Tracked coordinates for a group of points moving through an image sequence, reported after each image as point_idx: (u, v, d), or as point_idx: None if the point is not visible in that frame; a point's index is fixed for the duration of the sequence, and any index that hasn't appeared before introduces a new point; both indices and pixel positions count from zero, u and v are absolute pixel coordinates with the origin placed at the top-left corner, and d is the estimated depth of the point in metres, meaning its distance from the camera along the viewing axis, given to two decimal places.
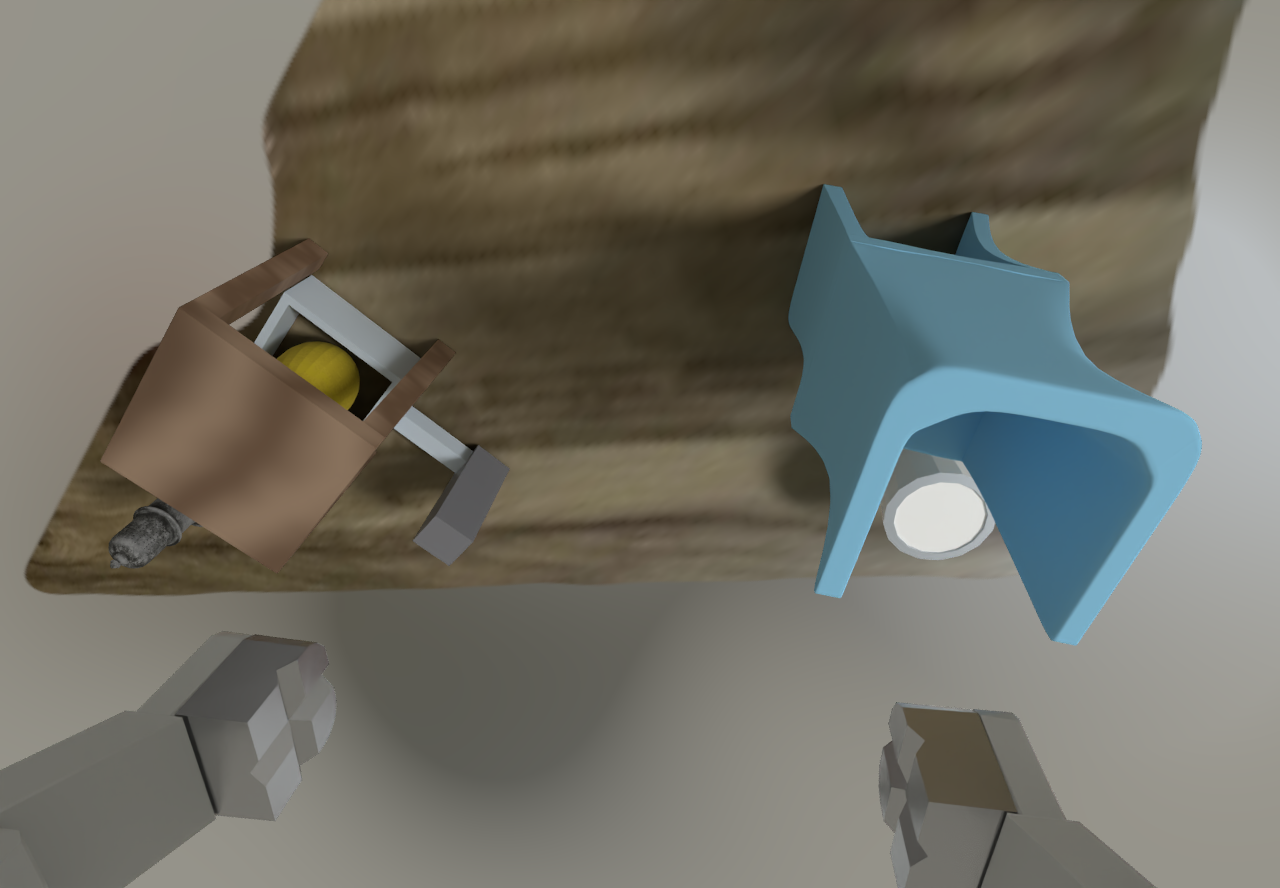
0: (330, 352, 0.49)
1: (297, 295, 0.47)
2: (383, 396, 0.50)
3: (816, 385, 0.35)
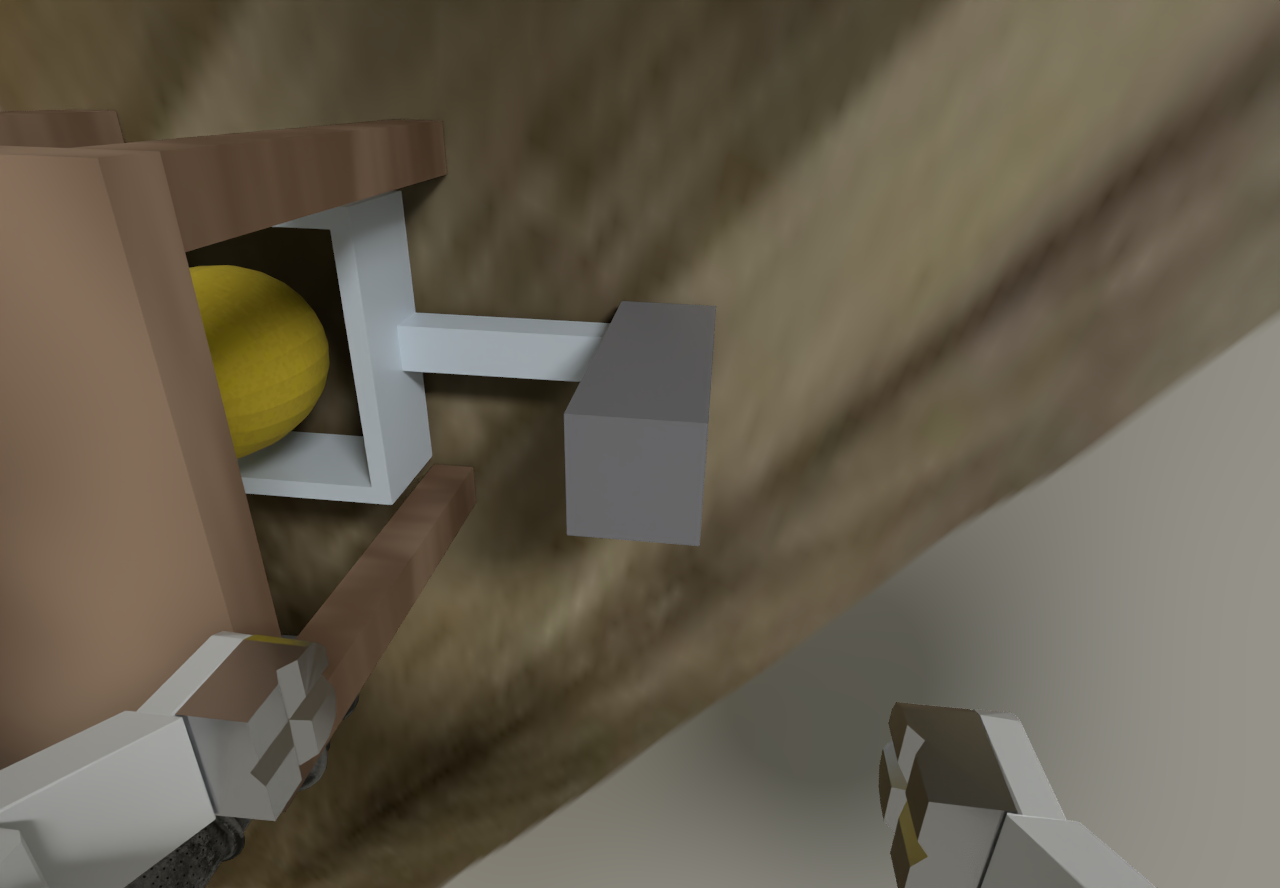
0: (196, 267, 0.21)
1: None
2: (341, 282, 0.20)
3: None
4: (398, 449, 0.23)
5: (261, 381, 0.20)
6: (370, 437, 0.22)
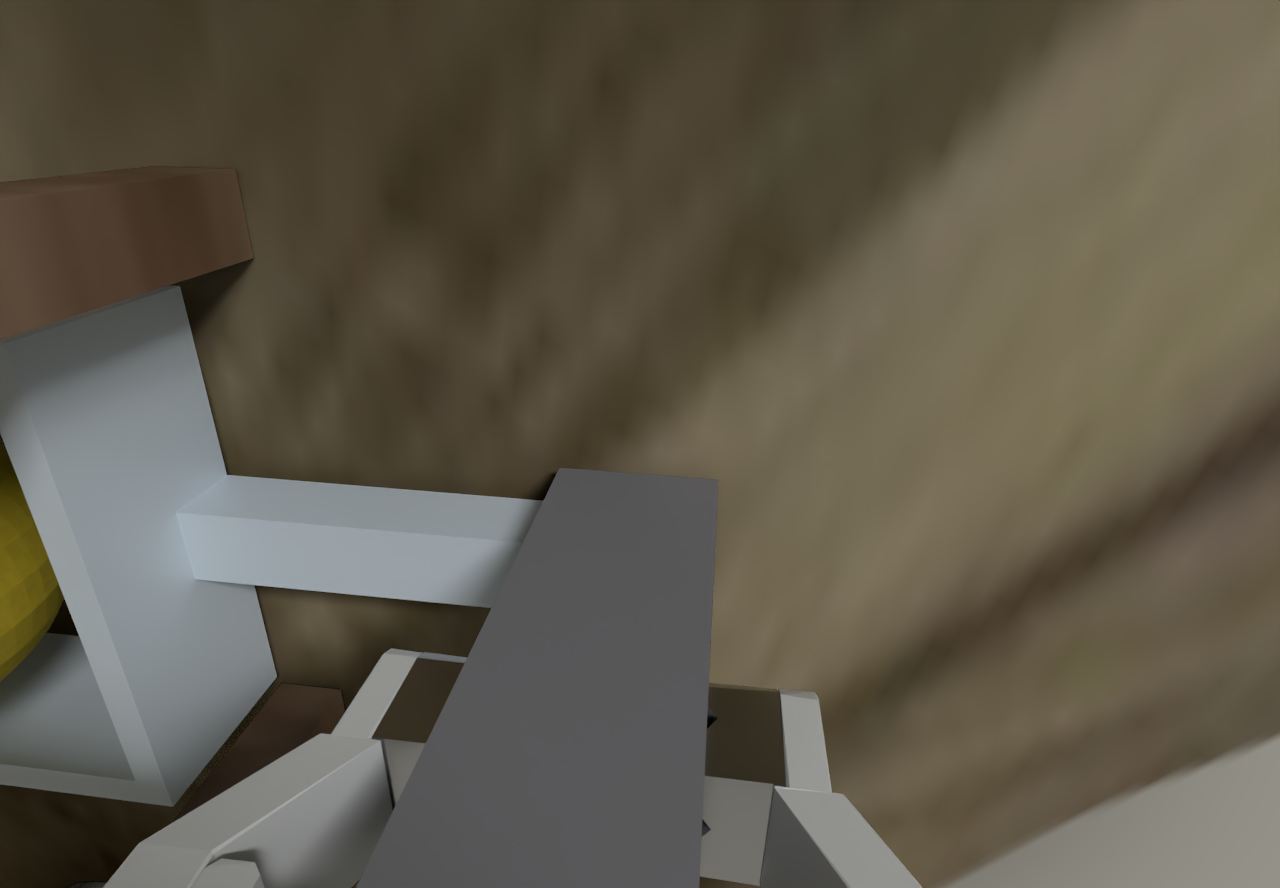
0: None
1: None
2: (21, 471, 0.11)
3: None
4: (187, 709, 0.14)
5: None
6: (119, 711, 0.13)
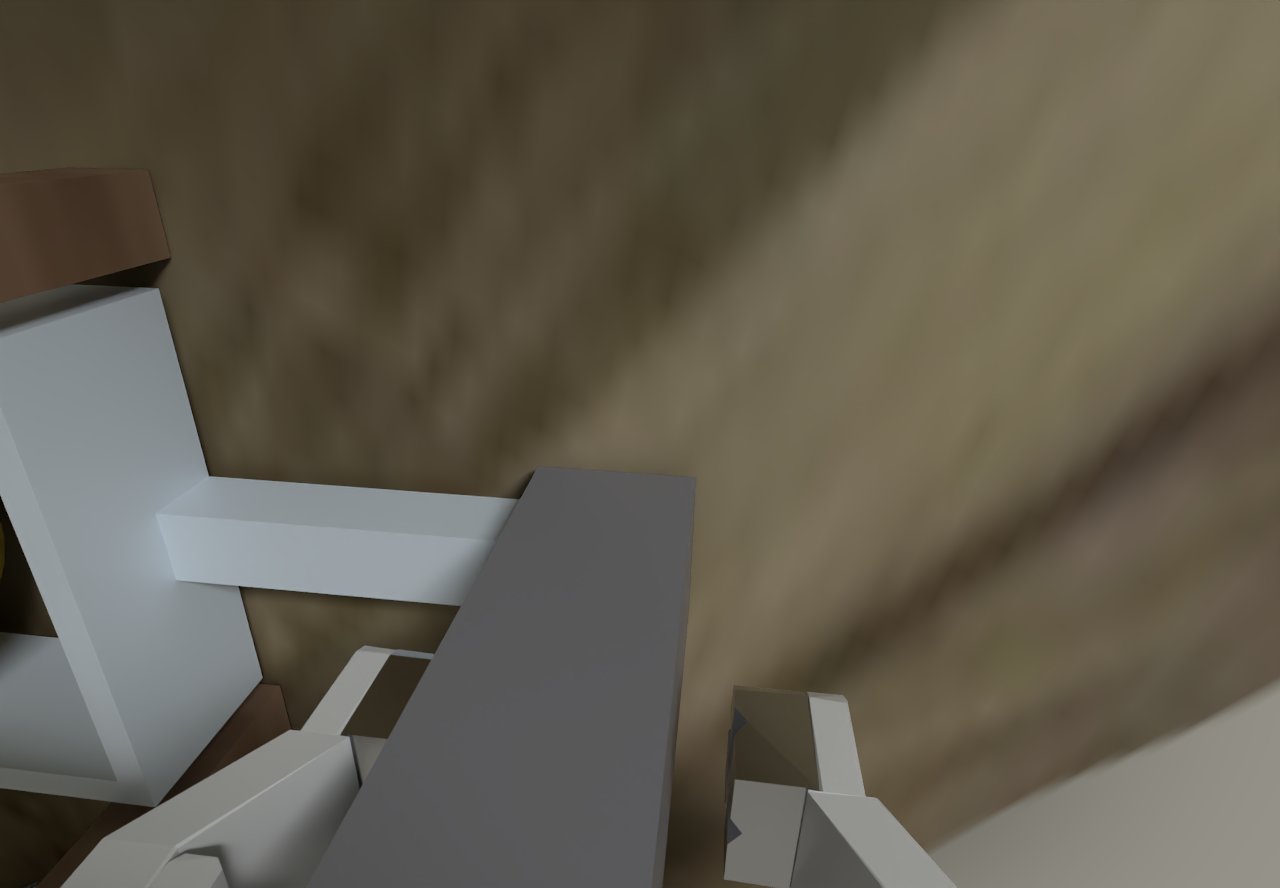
0: None
1: None
2: None
3: None
4: (169, 710, 0.14)
5: None
6: (100, 712, 0.13)
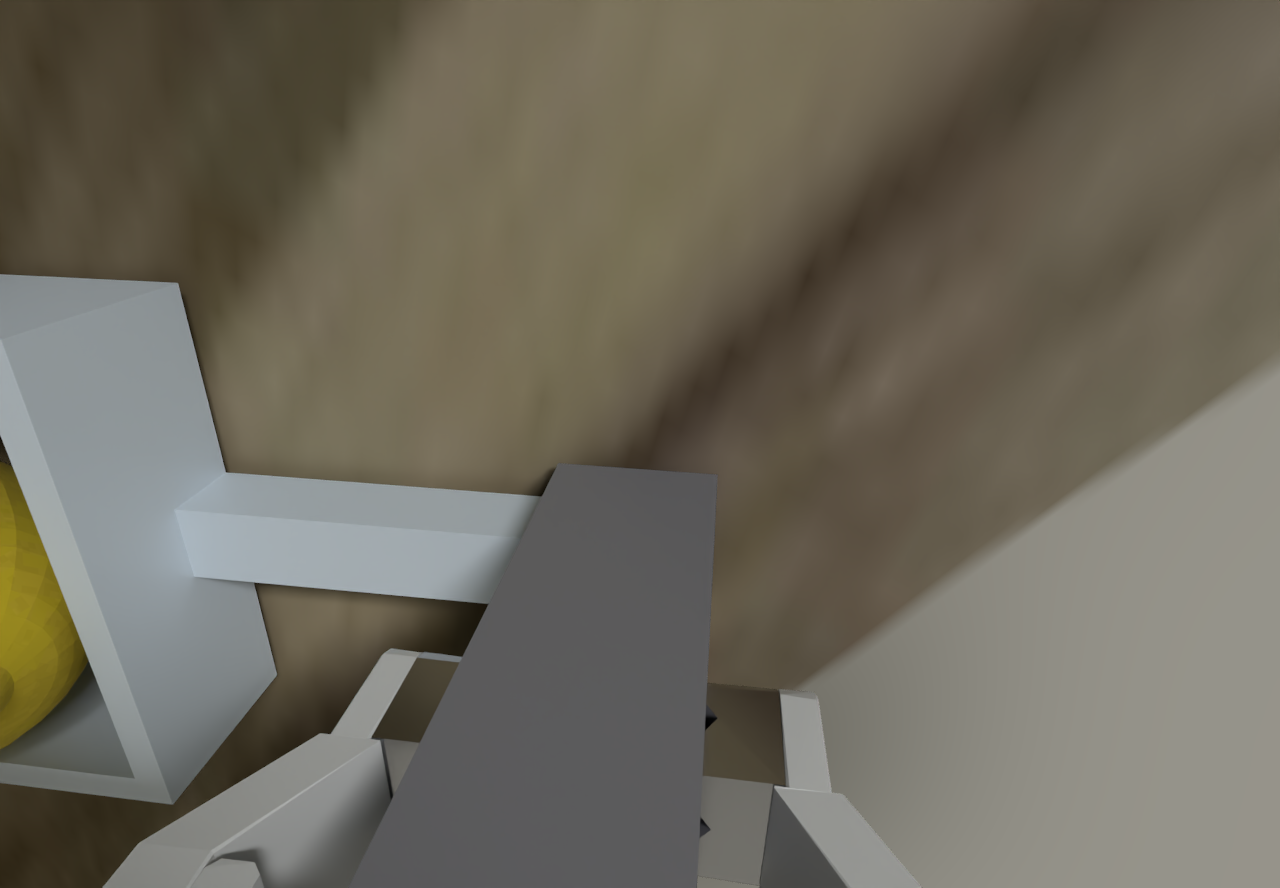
0: None
1: None
2: (19, 468, 0.11)
3: None
4: (187, 707, 0.14)
5: None
6: (118, 709, 0.13)
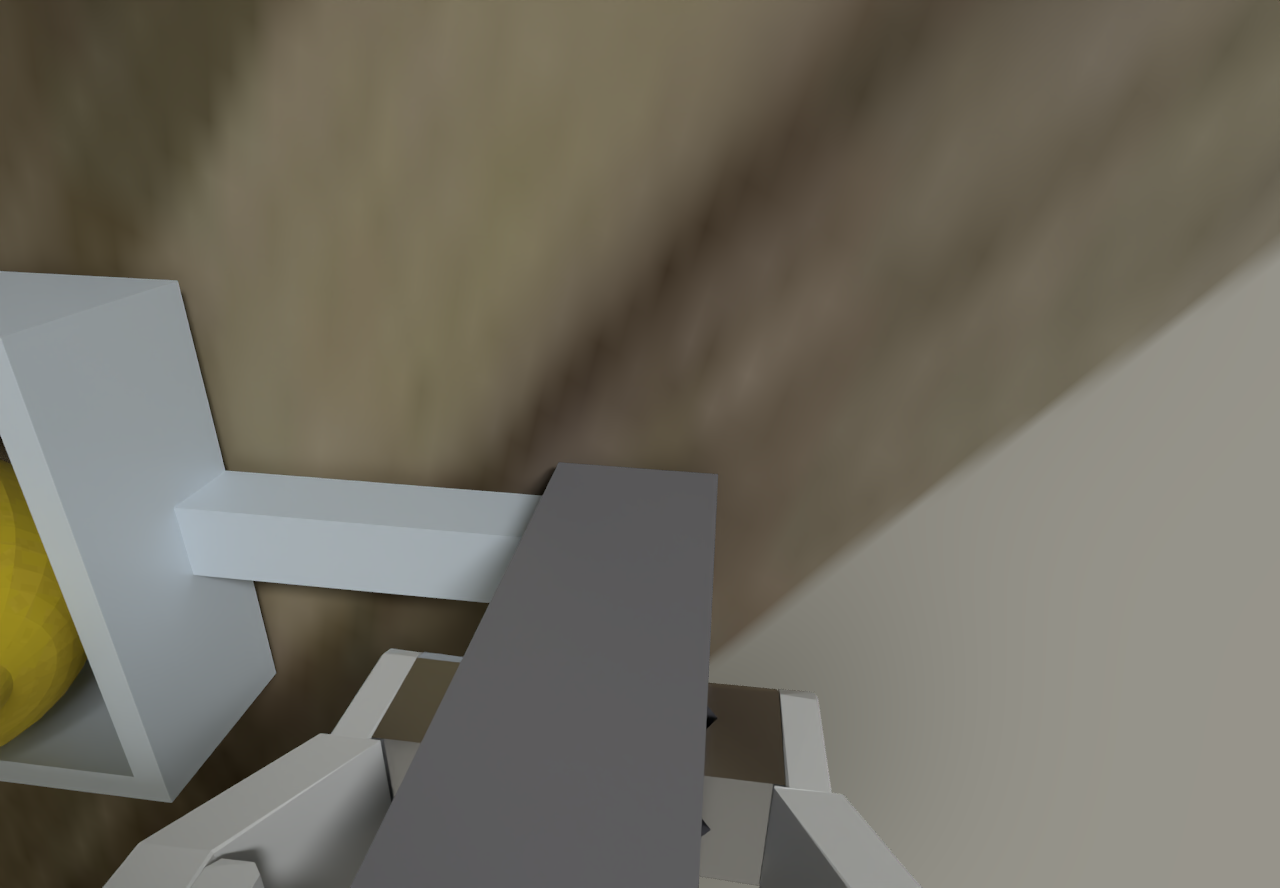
0: None
1: None
2: (18, 466, 0.11)
3: None
4: (186, 705, 0.14)
5: None
6: (117, 707, 0.13)
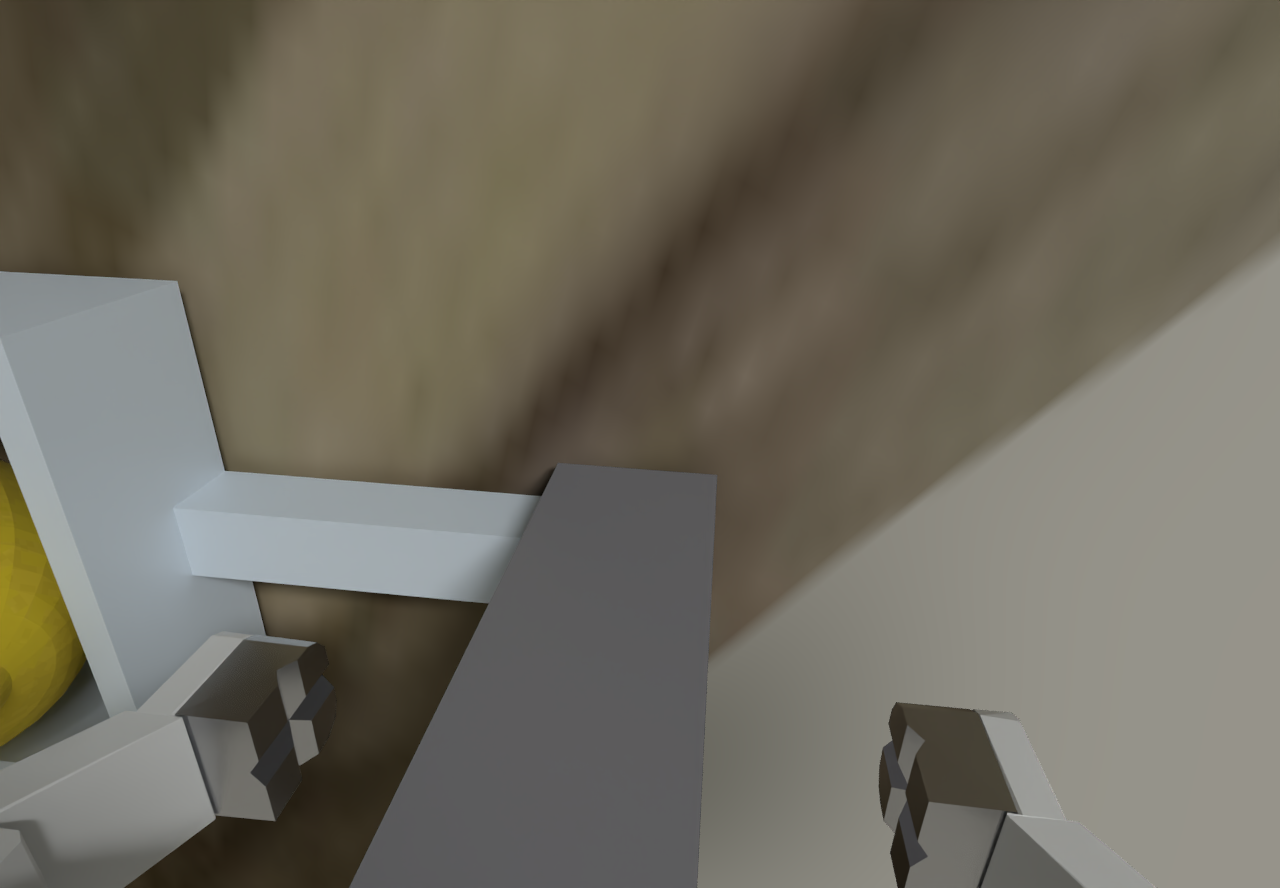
0: None
1: None
2: (17, 466, 0.11)
3: None
4: None
5: None
6: (116, 707, 0.13)
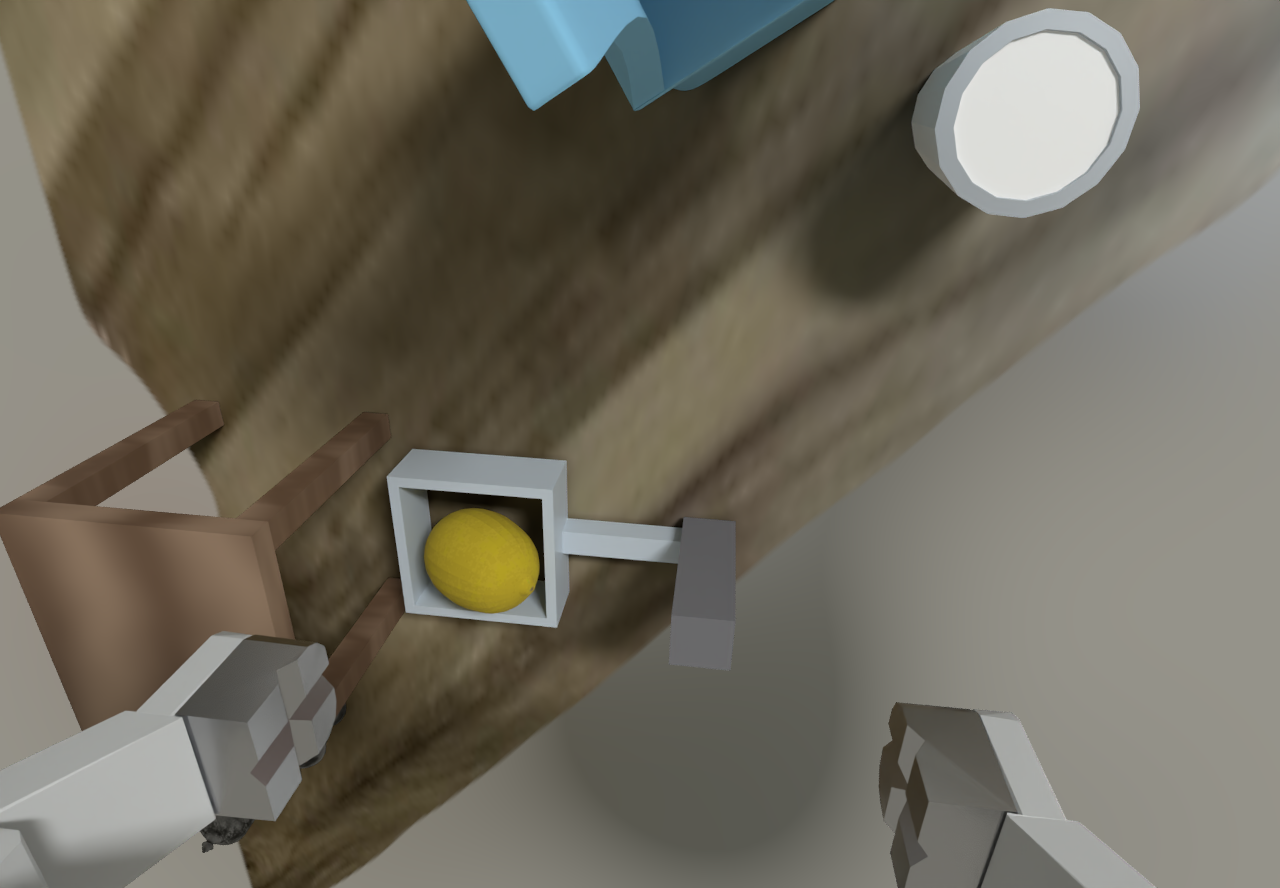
0: (467, 521, 0.40)
1: (402, 472, 0.40)
2: (544, 521, 0.39)
3: None
4: (559, 596, 0.43)
5: None
6: (549, 593, 0.41)
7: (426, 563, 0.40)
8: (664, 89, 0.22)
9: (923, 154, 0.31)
